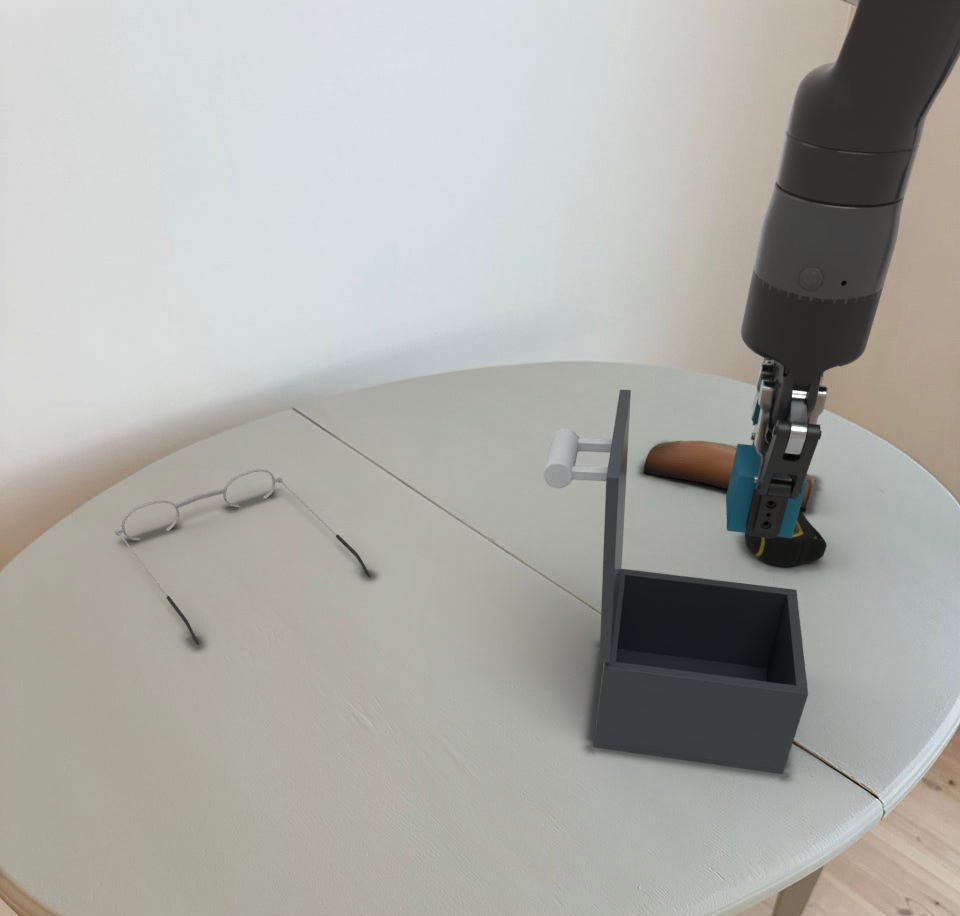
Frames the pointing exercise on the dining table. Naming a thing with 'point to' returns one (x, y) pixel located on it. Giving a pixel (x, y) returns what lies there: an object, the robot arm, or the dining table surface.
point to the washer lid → (564, 471)
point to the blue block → (743, 492)
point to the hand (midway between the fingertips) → (759, 513)
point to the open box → (703, 672)
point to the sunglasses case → (700, 463)
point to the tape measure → (789, 545)
